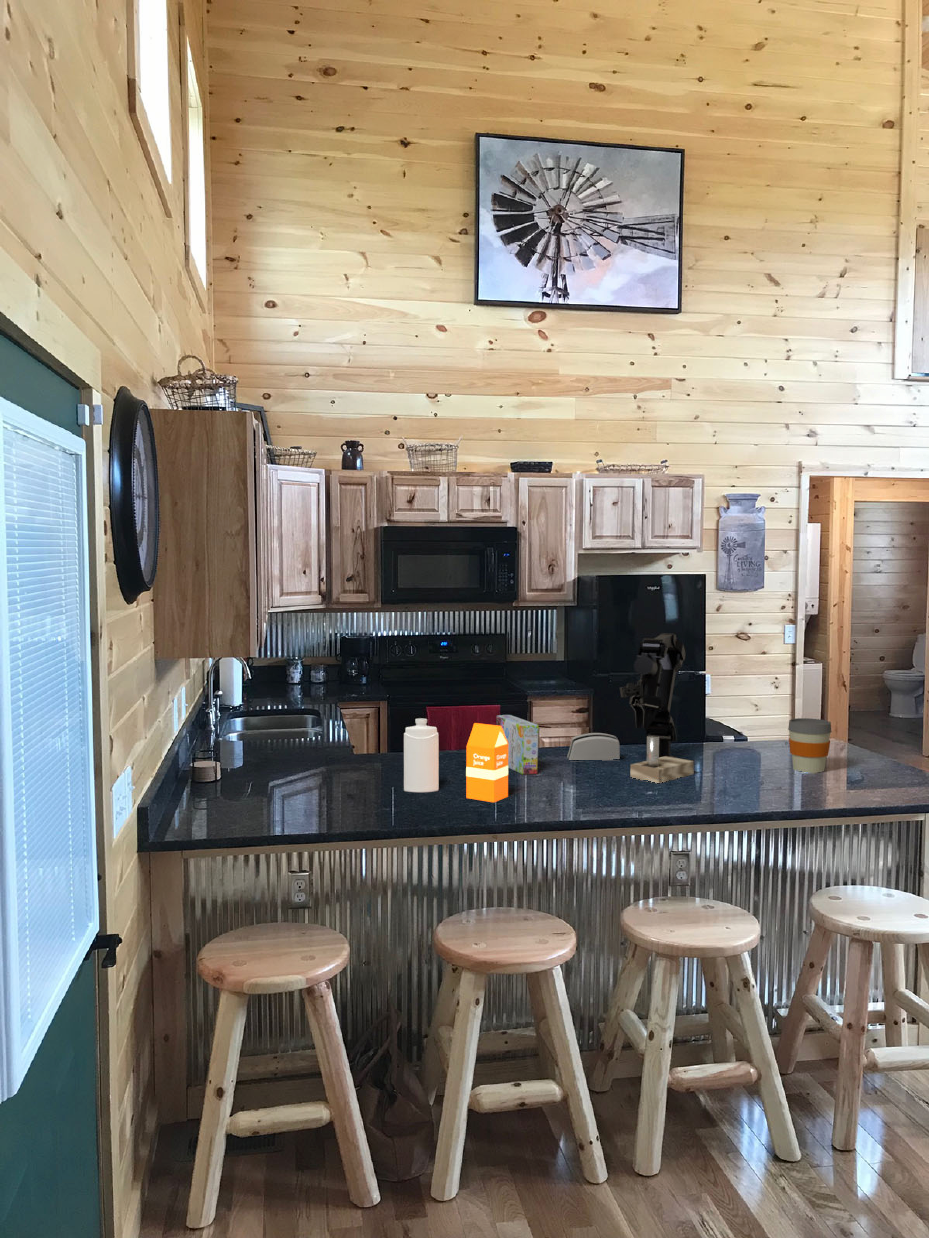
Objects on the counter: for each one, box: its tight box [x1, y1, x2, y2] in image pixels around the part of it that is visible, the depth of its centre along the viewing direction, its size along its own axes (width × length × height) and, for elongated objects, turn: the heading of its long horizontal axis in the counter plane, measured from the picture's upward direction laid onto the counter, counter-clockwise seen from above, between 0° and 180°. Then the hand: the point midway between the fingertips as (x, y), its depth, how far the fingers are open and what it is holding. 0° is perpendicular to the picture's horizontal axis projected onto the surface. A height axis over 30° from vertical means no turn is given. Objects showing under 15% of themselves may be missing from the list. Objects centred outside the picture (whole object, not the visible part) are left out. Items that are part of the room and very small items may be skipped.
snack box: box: [495, 714, 540, 776], centre depth 304 cm, size 21×6×15 cm, turn 22°
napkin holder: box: [566, 732, 621, 761], centre depth 316 cm, size 17×5×10 cm, turn 98°
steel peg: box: [646, 735, 659, 768], centre depth 290 cm, size 4×4×12 cm
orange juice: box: [465, 722, 509, 803], centre depth 267 cm, size 8×9×20 cm
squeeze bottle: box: [403, 717, 440, 793], centre depth 274 cm, size 10×20×5 cm
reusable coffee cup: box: [787, 717, 832, 774], centre depth 302 cm, size 13×13×15 cm
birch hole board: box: [629, 756, 695, 784], centre depth 293 cm, size 18×10×4 cm, turn 134°
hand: (641, 728), depth 302 cm, fingers open, 9 cm apart
